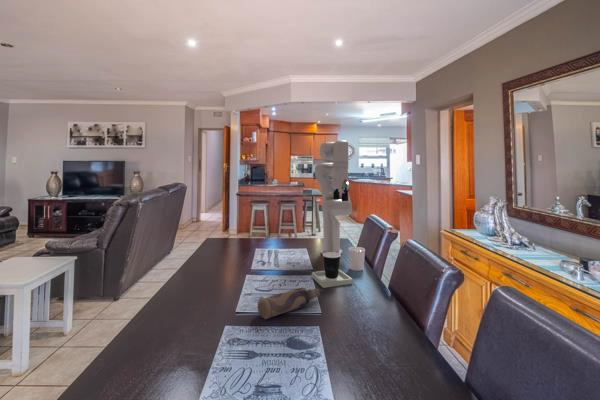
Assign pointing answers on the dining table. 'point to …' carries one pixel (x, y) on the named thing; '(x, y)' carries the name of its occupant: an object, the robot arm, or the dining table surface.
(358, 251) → the white cup
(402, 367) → the dining table surface
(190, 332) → the dining table surface
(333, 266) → the dixie cup
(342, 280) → the tray
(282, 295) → the decorative bottle
